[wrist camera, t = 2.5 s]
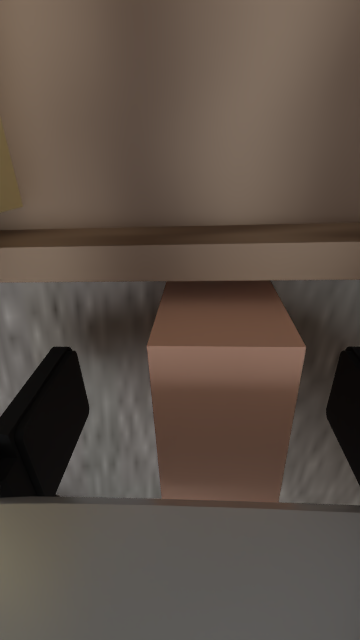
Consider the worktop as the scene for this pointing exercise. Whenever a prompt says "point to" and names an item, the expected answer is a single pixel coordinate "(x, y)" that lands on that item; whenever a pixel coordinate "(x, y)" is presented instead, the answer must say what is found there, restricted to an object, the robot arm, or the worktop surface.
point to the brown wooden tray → (181, 140)
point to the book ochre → (7, 178)
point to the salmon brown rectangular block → (223, 389)
